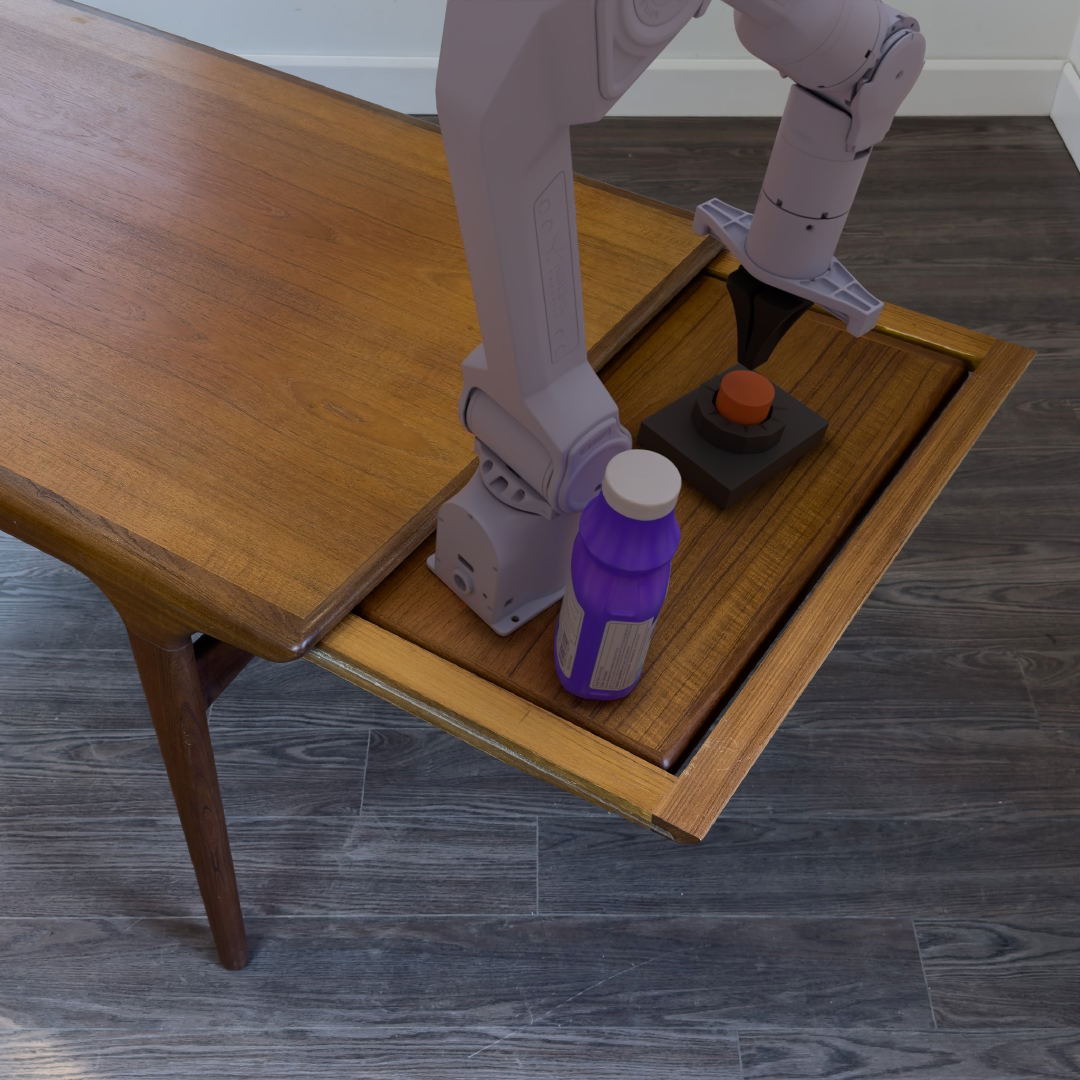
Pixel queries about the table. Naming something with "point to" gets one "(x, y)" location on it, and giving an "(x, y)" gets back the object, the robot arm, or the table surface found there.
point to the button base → (730, 441)
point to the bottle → (618, 576)
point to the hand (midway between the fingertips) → (752, 360)
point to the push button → (745, 397)
